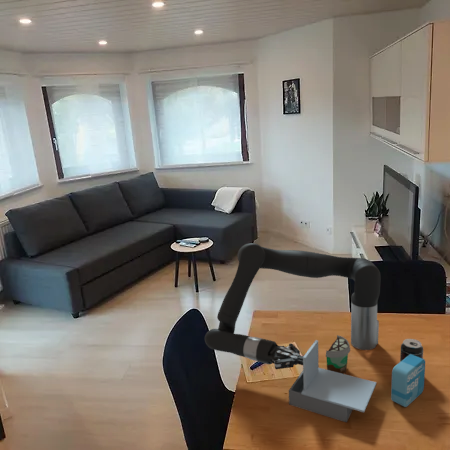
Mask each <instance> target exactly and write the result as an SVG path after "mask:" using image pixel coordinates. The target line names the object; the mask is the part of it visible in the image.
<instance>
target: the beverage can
mask: <svg viewBox="0 0 450 450" xmlns="http://www.w3.org/2000/svg"><path fill="white" fill-rule="evenodd" d="M410 354H412V355H414V356H417V357H419V358H422V359H424V346H422V342H421V341H420V340H418V339H415V338H405V339H404V340H403V341H402V343H401V344H400V356H399V358H400V359H399V363H400V362H401V361H402V360H403V359H405V358H406V357H407V356H408V355H410Z"/></svg>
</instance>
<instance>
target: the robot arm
mask: <svg viewBox="0 0 450 450" xmlns="http://www.w3.org/2000/svg"><path fill="white" fill-rule="evenodd" d="M236 256H237V261H238V266H237V269H236V273H235V275H234V278H233V280H232V282H231V284H230V286H229V288H228V290H227V292H226V294H225V296H224V298H223V300H222V302H221V305H220V308H219V310H218V312H217V317H216V318H217V320H218V322H219V325H218V327H217V328H211V329H209V330H208V331H207V332H206V333H205V335H204V342H205V345H206V346H207V347H208V348H209V349H211V350H214V351H218V352H219V351H220V352H224V353H229V354H230V353H231V354H233V355H236V356H239V357H243V358H246V359H248V360H252V361H256V362H259V363H262V364H266V365H273V364H274V369H275V370H282V369H291V368H294V366H297V365H301V366H303V356H304V355H301V351H300V350H299V348H298V347H296V346H295V345H294V344H293V343H288V345H287V346H284V345H278V343H276V341H273V340H270V339H266V338H261V337H257V336H249V335H245V334H240V333H235V331H236V324H237V321H238V319H239V316H240V312H241V310H242V308H243V306H244V302H245V300H246V298H247V294H248V292H249V289H250V287H251V285H252V283H253V281H254V279H255V277H256V275H257V273H258V272H259V270H260V269H266V270H273V271H278V272H282V273H284V274H285V273H286V274H289V275H294V276H298V277H303V278H304V277H305V278H312V279H320V278H325V277H333V276H334V277H341V278H342V277H343V278H347V279H350V280H353V281H354V292H353V293H352V294H351V299H350V300H351V303H350V305H351V308H350V313H351V314H350V345H351V346H353V347H354V348H355V349H358V350H362V351H368V350H369V351H370V350H373V349H375V348H376V346H377V345H378V344H379V325H380V324H379V323H380V322H379V320H378V300H379V297H380V294H381V272H380V270H379V268H378V267H377V266H376V265H375V264H374V263H373V262H372V261H371V260H370V259H366V258H363V257H348V256H347V257H345V256H344V257H343V256H336V255H335V256H334V255H330V254H326V253H325V254H324V253H319V252H315V251H314V252H313V251H307V250H297V249H296V250H295V249H275V248H274V249H273V248H269V247H264V246H261V245H260V244H257V243H255V242H253V243H252V242H251V243H245V244H244V245H242V246H241V247H240V248H239V250H238V251H237V255H236Z"/></svg>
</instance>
